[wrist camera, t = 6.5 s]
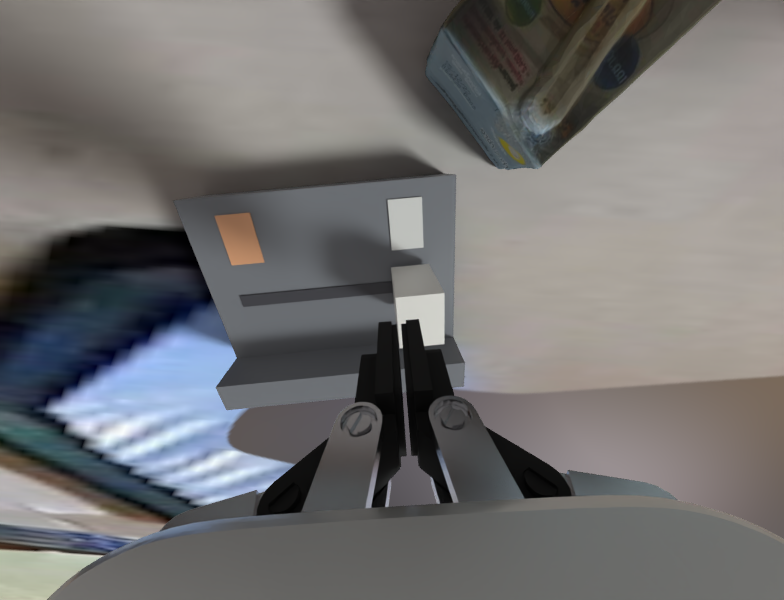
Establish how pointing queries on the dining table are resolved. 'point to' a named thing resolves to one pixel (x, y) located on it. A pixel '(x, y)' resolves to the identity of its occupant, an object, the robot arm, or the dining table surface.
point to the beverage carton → (547, 65)
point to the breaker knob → (419, 301)
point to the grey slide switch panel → (318, 279)
